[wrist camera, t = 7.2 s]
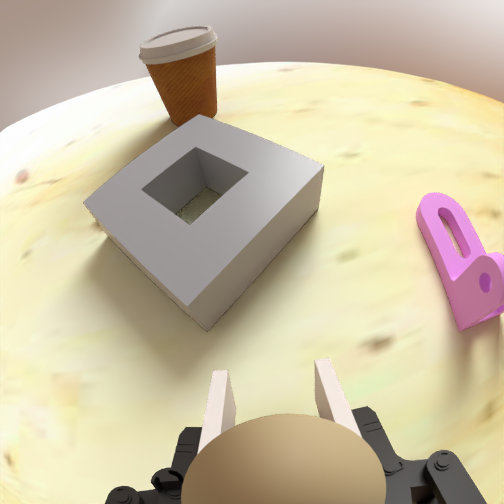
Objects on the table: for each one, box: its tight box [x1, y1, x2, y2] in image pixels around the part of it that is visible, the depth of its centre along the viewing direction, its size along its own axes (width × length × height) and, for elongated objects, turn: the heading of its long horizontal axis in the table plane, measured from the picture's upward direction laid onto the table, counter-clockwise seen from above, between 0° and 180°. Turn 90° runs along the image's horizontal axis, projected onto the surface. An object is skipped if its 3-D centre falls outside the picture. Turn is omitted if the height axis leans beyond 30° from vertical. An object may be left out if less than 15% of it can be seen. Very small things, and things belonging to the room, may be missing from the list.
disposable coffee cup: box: [139, 25, 218, 126], centre depth 30 cm, size 10×10×12 cm
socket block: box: [83, 114, 324, 332], centre depth 23 cm, size 14×14×5 cm
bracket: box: [416, 193, 504, 331], centre depth 18 cm, size 13×6×7 cm, turn 6°
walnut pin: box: [181, 414, 386, 504], centre depth 10 cm, size 5×5×13 cm
